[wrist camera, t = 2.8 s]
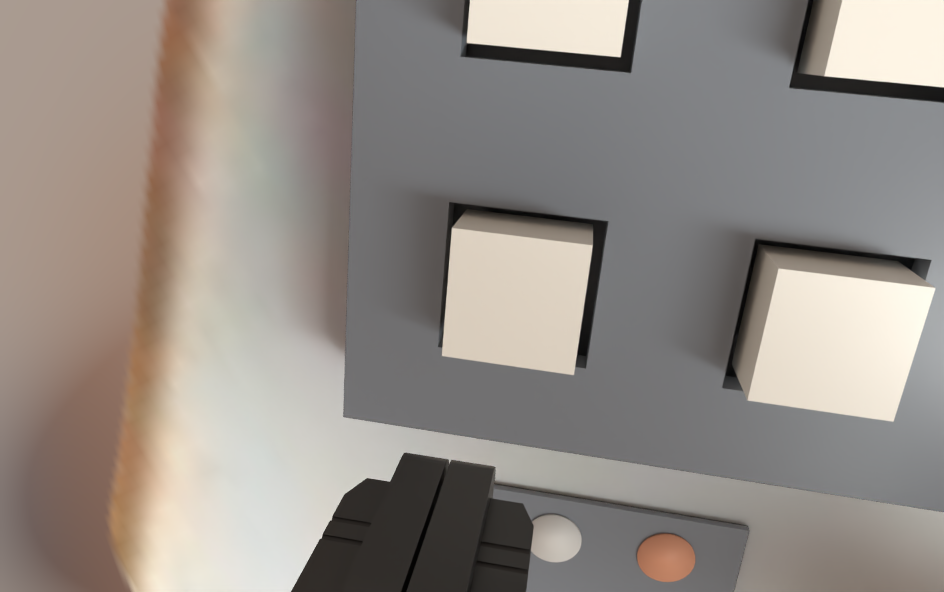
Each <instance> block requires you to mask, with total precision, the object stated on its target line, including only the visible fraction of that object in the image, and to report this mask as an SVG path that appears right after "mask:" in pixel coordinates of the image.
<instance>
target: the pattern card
mask: <svg viewBox="0 0 944 592" xmlns="http://www.w3.org/2000/svg"><path fill="white" fill-rule="evenodd" d="M493 499H499V500H505V501H511V502H517V503H523V504H524V507H525V509H526V511H527V513H528V515H529V517H530V519H531V521H532V523H533V525H534V529H533V537H532V546H531V554H530V563H529V571H528V580H527V588H526V592H734V589H735V585H736V581H737V578H738V574H739V570H740V566H741V562H742V558H743V554H744V550H745V546H746V542H747V538H748V534H749V528H748V526H744V525H738V524H732V523H726V522H720V521H714V520H708V519H702V518H696V517H689V516H683V515H677V514H671V513H665V512H659V511H653V510H647V509H641V508H635V507H629V506H623V505H617V504H611V503H605V502H599V501H593V500H587V499H581V498H575V497H569V496H563V495H557V494H551V493H545V492H539V491H533V490H527V489H520V488H514V487H508V486H502V485H496V484H494V490H493Z"/></svg>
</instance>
